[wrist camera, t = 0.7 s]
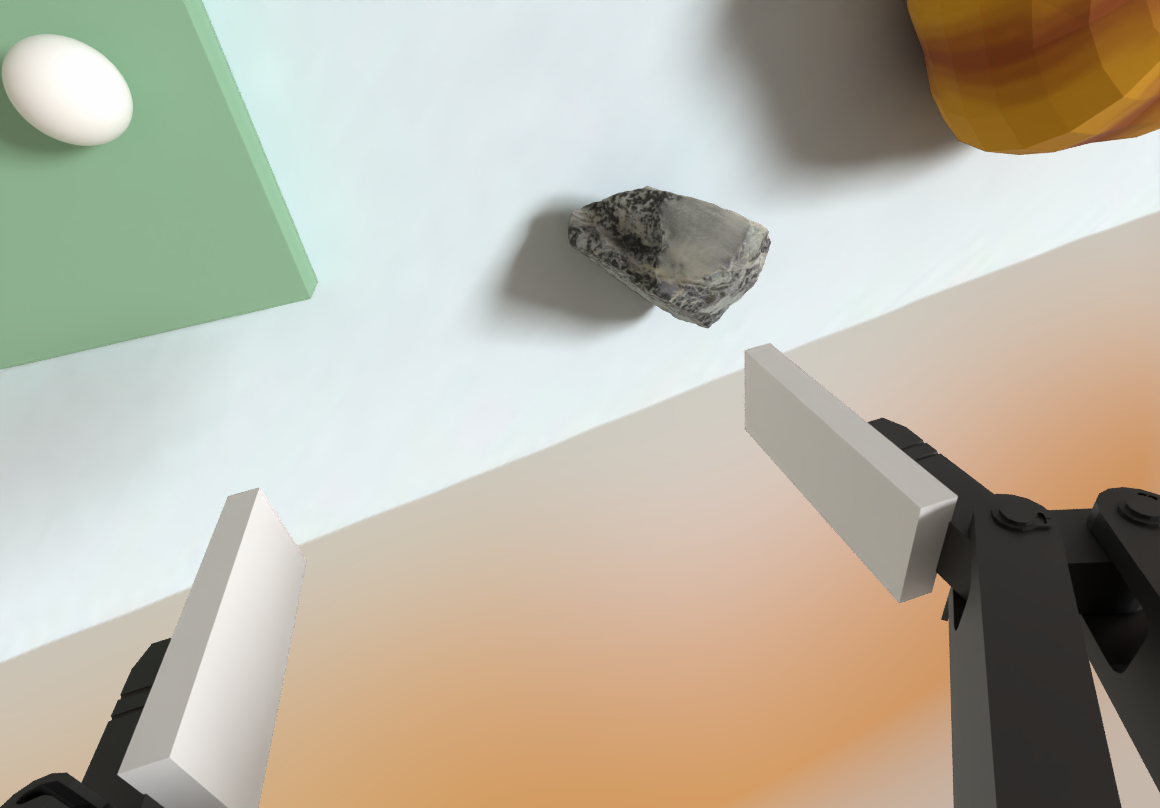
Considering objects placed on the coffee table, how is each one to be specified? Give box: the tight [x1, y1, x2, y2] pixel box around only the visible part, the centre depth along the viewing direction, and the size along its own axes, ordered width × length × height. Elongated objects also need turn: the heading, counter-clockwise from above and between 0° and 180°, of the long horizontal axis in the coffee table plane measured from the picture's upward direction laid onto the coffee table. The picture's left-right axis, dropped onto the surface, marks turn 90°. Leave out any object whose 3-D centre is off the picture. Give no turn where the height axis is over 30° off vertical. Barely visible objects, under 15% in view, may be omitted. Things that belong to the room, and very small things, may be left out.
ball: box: [2, 34, 133, 146], centre depth 24 cm, size 4×4×4 cm
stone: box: [568, 186, 771, 328], centre depth 35 cm, size 10×10×10 cm
